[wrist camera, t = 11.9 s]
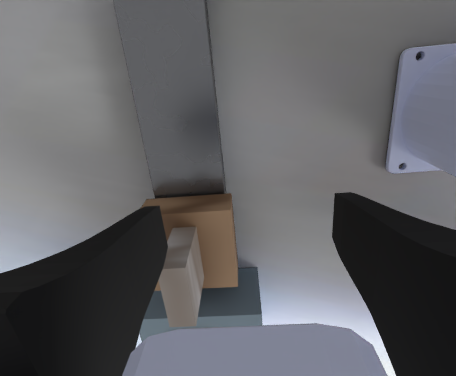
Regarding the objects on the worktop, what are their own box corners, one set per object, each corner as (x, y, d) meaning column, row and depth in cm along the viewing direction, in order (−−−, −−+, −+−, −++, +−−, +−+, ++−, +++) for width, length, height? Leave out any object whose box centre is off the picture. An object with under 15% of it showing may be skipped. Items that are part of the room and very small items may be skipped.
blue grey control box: (257, 267, 24) (261, 314, 20) (260, 318, 26) (265, 371, 22) (150, 273, 25) (130, 319, 20) (162, 322, 27) (146, 375, 22)
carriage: (231, 193, 20) (228, 248, 14) (238, 263, 22) (238, 337, 16) (146, 199, 20) (107, 255, 14) (162, 267, 22) (134, 341, 16)
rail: (203, -28, 16) (200, -36, 15) (232, 259, 24) (232, 270, 22) (118, -17, 16) (107, -25, 15) (175, 262, 24) (171, 274, 23)
